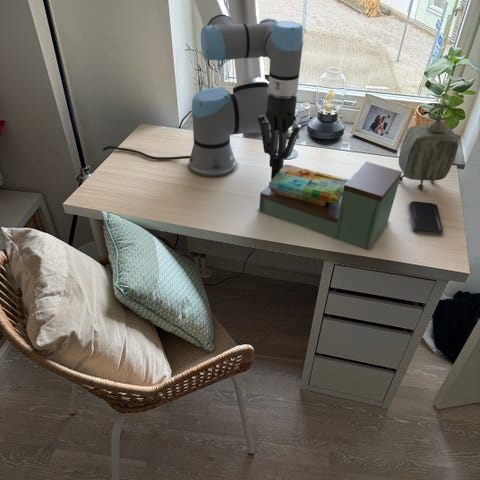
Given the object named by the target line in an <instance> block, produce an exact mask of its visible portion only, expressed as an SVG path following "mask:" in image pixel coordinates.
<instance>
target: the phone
mask: <svg viewBox="0 0 480 480" xmlns="http://www.w3.org/2000/svg"><path fill="white" fill-rule="evenodd" d="M409 210H410V212H409V213H410V218H411V225H412V231H413V232H415V233H418V234H419V233H420V234H427V235H437V236H440V235H442V233H443V231H444V229H443V225H442V224H443V223H442V220H441V216H440V212H439V211H440V210H439V207H438V204H436V203H433V202H427V201H426V202H424V201H417V200H412V201H410V203H409Z"/></svg>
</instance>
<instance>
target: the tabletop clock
mask: <svg viewBox="0 0 480 480" xmlns="http://www.w3.org/2000/svg"><path fill="white" fill-rule="evenodd" d="M440 108H441V109H443V108H444V109H448V110H450V111H451V113H450V114H449V115H447V116H444V117H443V116H442V114H438V115H437V117H434V116H432V115H431V113H432V112H433V111H434V110H437V109H440ZM453 115H454V108H453V107H452V106H450V105H447V104H439V105H436V106H434V107H432V108H431V109H430V110H429V111H428V117H429V119H431V120H432V121H430V123H428V124H418V125H412V126H411V127H409V128H408V129H407V131H406V132H405V135H404V137H403V140H402V142H401V146H400V150H399V155H398V167H399V168H400V171H401V172H402V175H401V177H400V181H399V182H402V181H403V180H404V179H403V178H406V179H409V180H411V181H412V180H414V181H420V183H419V184H418V185H417V189H418V190H423V189H424V181H430V182H432V183H433V182H435V181H440V180H444V179H446V177H447V176H448V174H449V172H450V170H451V168H452V166H453V164H454V162H455V159H456V155H457V153H458V149H459V144H460V142H459V137H458V136H457V135H456V133H454V131H453V129H452V128H450V127H449V126H447V125H445V123H444V122H443V121H446V120H449V119H450V118H451V117H452V116H453Z"/></svg>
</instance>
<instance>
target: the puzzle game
mask: <svg viewBox="0 0 480 480" xmlns="http://www.w3.org/2000/svg"><path fill="white" fill-rule="evenodd" d="M349 180H350V179H348V178H343V177H341V176H335V175H331V174H327V173H323V172H320V171H319V172H318V171H314V170H312V169H308V168H303V167H299V166H295V165H292V164H291V165H290V164H283V168H282V169H281V170H280V171H279V172H278V173H277V174H276V175H275V176H274V178H273V179H272V180H271V179H270V181H269V182H268V186H269V188H270V189H271V190H272V191H273V193H275V194H279V195H282V196H286V197H290V198H294V199H298V200H302V201H306V202H310V203H314V204H317V205H321V206H324V205H325V204H326V203H327V202H329V203H333V204H337V203H338V202H339V200H340V199H341V197H342V195H343V190H344V185H345V184H346V183H347V182H348V181H349Z"/></svg>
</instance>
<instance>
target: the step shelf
mask: <svg viewBox="0 0 480 480" xmlns="http://www.w3.org/2000/svg"><path fill="white" fill-rule="evenodd" d="M402 175H403V172H402V170H397V169H394V168H390V167H387V166H384V165H380V164H376V163H374V162H373V163H372V162H370V161H365V162H364V163H363V165H361V167H360V168H358V169H357V171H356V172H355V173H354V174H353V175H352V176H351V177H350V178H349V179H348V180H349V181H348V182H347V183H346V184H345V185H344V190H343V195H342V197H341V199H340V200H339V202H338V203H337V204H333V203H329V202H327V203H326V204H325V205H324V206H321V205H317V204H314V203H310V202H306V201H302V200H298V199H294V198H290V197H286V196H282V195H279V194H275V193H273V191H272V190H271V189H270V188H269V185H267V186H266V187H265V188H264V189H263V190H262V191H260V192H259V193H260V194H259V209H258V211H259V212H261V213H264V214H267V215H269V216H272V217H275V218H279V219H281V220H284V221H287V222H290V223H291V224H294V225H298V226H301V227H304V228H307V229H309V230H313V231H315V232H318V233H321V234H323V235H326V236H329V237H332V238H334V239H338V240H341V241H344V242H347V243H349V244H352V245H354V246H358V247H360V248H363V249H366V250H370V248H371V247H372V245H373V244H374V243H375V241H376V239H377V238H378V237H379V235H381V233H382V231H384V229H385V228H386V226H387V224H388V223H389V219H390V216H391V212H392V208H393V205H394V201H395V198H396V195H397V191H398V187H399V184H400V182H401V181H400V177H402Z"/></svg>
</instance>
